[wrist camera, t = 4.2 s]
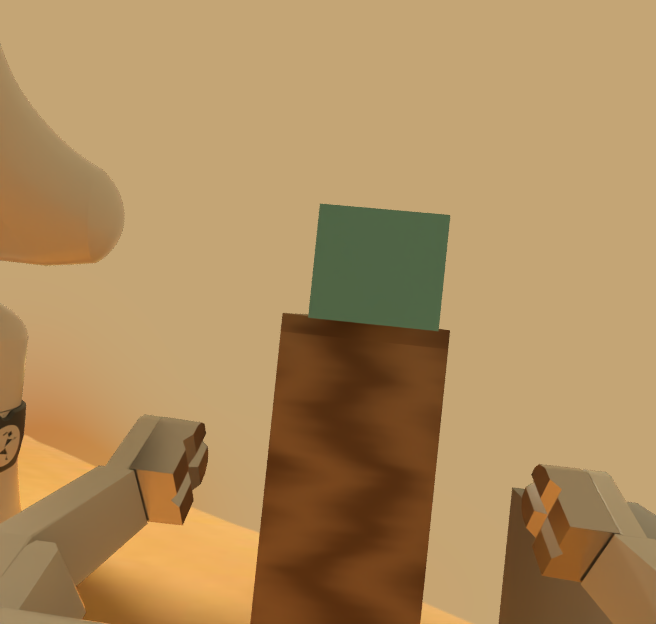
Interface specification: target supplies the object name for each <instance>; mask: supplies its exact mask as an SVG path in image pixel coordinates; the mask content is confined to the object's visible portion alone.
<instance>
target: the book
mask: <svg viewBox="0 0 656 624" xmlns="http://www.w3.org/2000/svg"><path fill="white" fill-rule="evenodd" d="M449 222H450V215H442V214H432V213H419V212H409V211H398V210H397V211H396V210H386V209H375V208H363V207H351V206H340V205H329V204H320V210H319V219H318V230H317V238H316V248H315V258H314V268H313V277H312V287H311V296H310V306H309V315H308V318H317V319H326V320H336V321H345V322H355V323H365V324H374V325H384V326H393V327H403V328H413V329H422V330H432V331H438V330H439V320H440V311H441V300H442V291H443V281H444V272H445V261H446V252H447V242H448V232H449Z"/></svg>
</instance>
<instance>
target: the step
mask: <svg viewBox="0 0 656 624" xmlns="http://www.w3.org/2000/svg"><path fill="white" fill-rule="evenodd" d="M524 490H525V489H520V488H512V496H511V506H510V516H509V526H508V536H507V545H506V556H505V565H504V575H503V585H502V595H501V605H500V615H499V624H613V623H612V622H611V620H610V619H609V618H608V617H607V616H606V614H605V613H604V612H603V611H602V610H601V608H600V607H599V606H598V605H597V604H596V602H595V601H594V600H593V599H592V597H591V596H590V595H589V594H588V593H587V591H586V590H585V589H584V588H583V587H582V585H581V583H582V582H577V581H571V580H565V579H559V578H553V577H547V576H542V575H541V572H540V569H539V566H538V563H537V560H536V557H535V554H534V551H533V548H532V545H533V543H534V541H535V539H536V538H535V537H534V536H533V534H532V533H531V532H530V531H529V530H528V529H527V528H526V526H525V523H524V520H523V516H522V509H521V505H522V495H523V493H524ZM627 504H628V506H629V507H630V509H631V511H632V513H633V514H634V516H635V518H636V519H637V521H638V523H639V524H640V526H641V528H642V530H643V531H644V533H645V535H646V536H647V538H649V539H655V540H656V515H655V514H653V513H651V512H650V511H648V510H647V509H645V508H644V507H642V506H640V505H639V504H638V503H632V502H627Z"/></svg>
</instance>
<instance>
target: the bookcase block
mask: <svg viewBox="0 0 656 624" xmlns="http://www.w3.org/2000/svg"><path fill="white" fill-rule="evenodd" d="M449 333H450V331H449V330H443V329H439V330H438V331H432V330H422V329H413V328H403V327H393V326H384V325H374V324H365V323H355V322H345V321H336V320H326V319H317V318H308V315H307V314H290V313H283V316H282V325H281V335H280V344H279V355H278V364H277V373H276V383H275V392H274V403H273V412H272V422H271V431H270V440H269V450H268V460H267V470H266V479H265V489H264V498H263V508H262V517H261V528H260V536H259V546H258V556H257V565H256V575H255V584H254V594H253V604H252V613H251V623H250V624H420V620H421V610H422V600H423V590H424V581H425V571H426V561H427V551H428V541H429V531H430V522H431V511H432V502H433V492H434V481H435V472H436V463H437V452H438V443H439V433H440V423H441V414H442V403H443V394H444V384H445V373H446V364H447V354H448V344H449Z"/></svg>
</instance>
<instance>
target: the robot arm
mask: <svg viewBox="0 0 656 624" xmlns="http://www.w3.org/2000/svg"><path fill="white" fill-rule="evenodd" d="M123 226H124V207H123V202H122V199H121V196H120V194H119V191H118V189H117V187H116V186H115V184H114V182H113V181H112V180H111V179H110V177H109V176H108V175H107V173H106V172H105V171H103V169H101V168H99V167H98V166H96V165H94V164H93V163H91V162H90V161H88V160H86V159H85V158H84V157H82V156H81V155H80V154H78V153H77V152H76V151H75V150H73V149H72V148H71V147H70V146H68V145H67V144H66V143H65V142H64V141H63V140H62V139H61V138H60V137H59V136H58V135H57V134H56V133H55V132H54V131H53V130H52V129H51V128H50V127H49V126H48V125H47V124H46V122H45V121H44V120H43V119H42V118H41V116H40V115H39V114H38V113H37V111H36V110H35V109H34V108H33V106H32V105H31V104H30V102H29V101H28V99H27V98H26V96H25V95H24V94H23V92H22V91H21V89H20V87H19V86H18V84H17V82H16V80H15V79H14V76H13V74H12V72H11V70H10V68H9V65H8V63H7V60H6V58H5V55H4V53H3V50H2V47H1V45H0V261H9V262H17V263H26V264H35V265H44V266H48V265H49V266H51V265H74V264H89V263H97V262H99V261H100V260H102V259H103V258H104V257H106V256H107V255H108V254H109V253H110V252H111V251H112V249H113V248H114V247H115V245H116V244H117V242H118V240H119V238H120V236H121V233H122V231H123ZM27 345H28V333H27V330H26V328H25V325H24V324H23V322H22V320H21V319H20V318H19V317H18V316H17V315H16V314H15V313H14V312H13V311H12V310H10V309H9V308H7V307H6V306H4V305H2V304H1V303H0V624H109V623H102V622H96V621H89V620H83V617H84V615H85V613H86V610H85V605H84V603H83V601H82V599H81V597H80V595H79V592H78V590H77V588H76V586H77V585H78V584H80V583H81V582H82V581H83V580H84V579H85V578H86V577H88V576H89V575H90V574H91V573H92V572H93V571H94V570H95V569H97V568H98V567H99V566H100V565H101V564H102V563H103V562H105V561H106V560H107V559H108V558H109V557H110V556H111V555H112V554H114V553H115V552H116V551H117V550H118V549H119V548H120V547H122V546H123V545H124V544H125V543H126V542H127V541H128V540H129V539H131V538H132V537H133V536H134V535H135V534H136V533H137V532H139V531H140V530H141V529H142V528H143V527H144V526H145V525H147V521H148V522H157V523H166V524H175V525H183V523H184V521H185V518H186V516H187V514H188V512H189V509H190V507H191V505H192V502H193V494H192V490H193V489H194V488H196V487H197V486H199V485H200V484H201V482H202V479H203V476H204V474H205V471H206V466H207V462H208V446H207V445H206V444H205V443H204V442H203V439H204V437H205V434H206V431H205V425H204V424H203V423H200V422H194V421H188V420H181V419H174V418H168V417H158V416H152V415H143V416H142V417H140V418H139V419H138V420H137V422H136V423H135V425H134V426H133V428H132V429H131V430H130V432H129V433H128V435H127V436H126V437H125V439H124V440H123V442H122V443H121V444H120V446H119V447H118V449H117V450H116V452H115V453H114V454H113V456H112V457H111V459H110V460H109V462H108V463H107V465H106V466H98V467H96V468H94V469H93V470H91V471H89V472H87V473H86V474H84V475H82V476H81V477H79V478H77V479H76V480H74V481H72V482H70V483H69V484H67V485H65V486H64V487H62V488H60V489H59V490H57V491H55V492H53V493H52V494H50V495H48V496H47V497H45V498H43V499H42V500H40V501H38V502H36V503H35V504H33V505H31V506H30V507H28V508H26V509H25V510H23V511H21V505H20V496H19V481H18V454H19V451H20V447H21V443H22V440H23V436H24V427H25V416H26V403H25V402H24V401H23V400H22V392H23V383H24V373H25V364H26V354H27ZM532 477H533V479H534V482H533V483H532V484H530V485H528V486H527V487H526V488H525V490H524V493H523V495H522V505H521V509H522V516H523V520H524V523H525V526H526V528H527V529H528V530H529V531H530V532H531V533H532V534H533V536H534V537H535V538H536V539H535V541H534V543H533V545H532V548H533V551H534V554H535V557H536V560H537V563H538V566H539V569H540V572H541V575H542V576H547V577H553V578H559V579H565V580H571V581H577V582H582V583H581V585H582V587H583V588H584V589H585V590H586V591H587V593H588V594H589V595H590V596H591V597H592V599H593V600H594V601H595V602H596V604H597V605H598V606H599V607H600V608H601V610H602V611H603V612H604V613H605V614H606V616H607V617H608V618H609V619H610V620H611V622H612V623H613V624H656V540H655V539H649V538H647V536H646V535H645V533H644V531H643V530H642V528H641V526H640V524H639V523H638V521H637V519H636V518H635V516H634V514H633V513H632V511H631V509H630V507H629V506H628V504H627V502H626V501H625V499H624V497H623V496H622V494H621V492H620V490H619V489H618V487H617V485H616V484H615V482H614V480H613V479H612V477H611V476H610V475H609V474H608V473H607V472H602V471H593V470H581V469H577V468H568V467H560V466H551V465H542V464H539V465H538V466H536V467H535V468H534V470H533V473H532Z"/></svg>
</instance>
